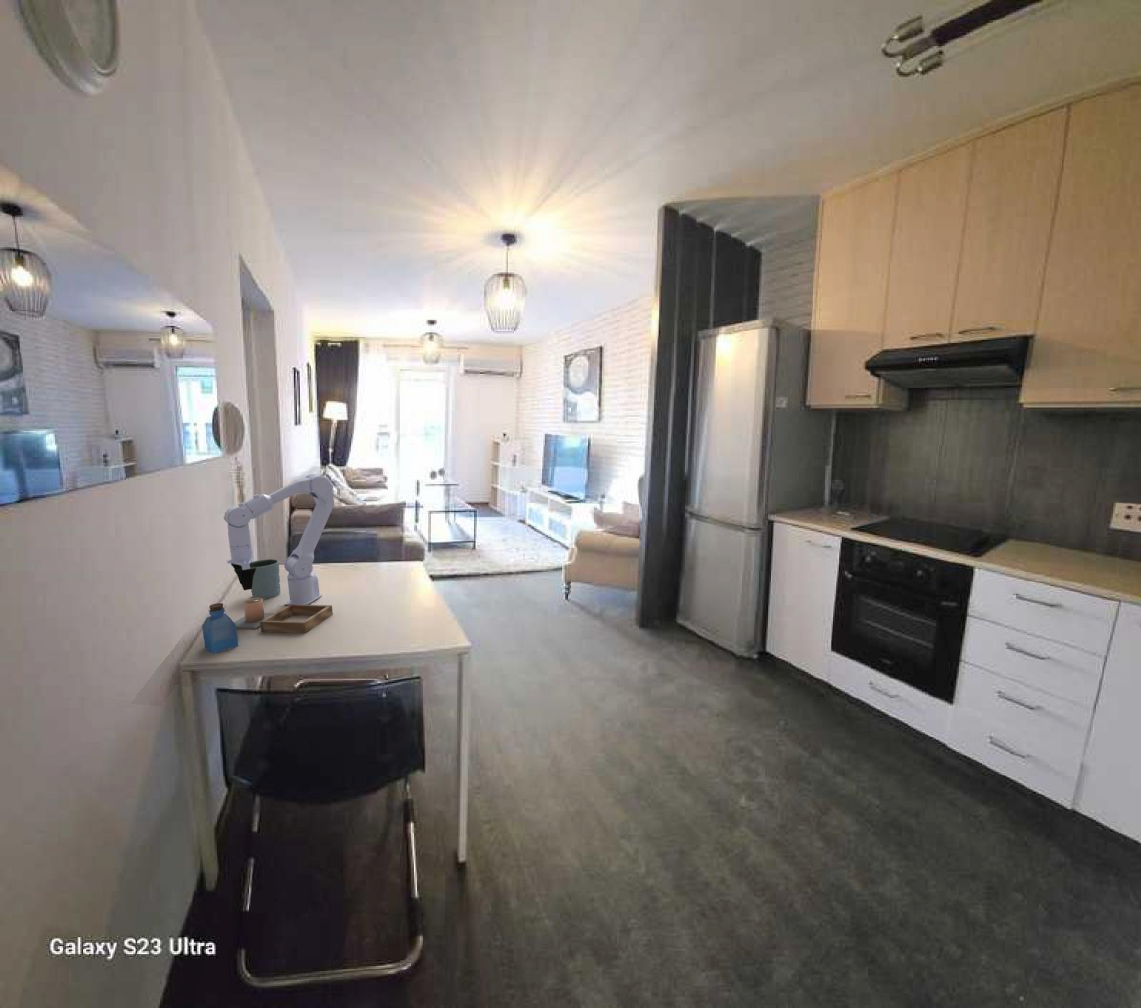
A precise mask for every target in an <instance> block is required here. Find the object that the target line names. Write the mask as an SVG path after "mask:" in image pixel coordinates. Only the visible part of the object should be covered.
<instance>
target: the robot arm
mask: <svg viewBox="0 0 1141 1008" xmlns="http://www.w3.org/2000/svg"><path fill="white" fill-rule="evenodd" d="M333 489H334V485H333V483H332V482H331V481H330V479H329V478H328V477H326V476H324V475H318V474H314V473H311V474H308V475H306V476H303V477H299V478H297V479H295V480H294V481H293V482H290V483H288V484H286V485H285V486H283V487H281V488H279V489H278V490H275V491H274V492H272V493H270V494H265V493H261V494H258V493H257V494H254V495H253V496H252V498H251V499H249V500H247V501H244V502H239V503H237V506H230V507H229V508H228V509H226V511H225V513H224V516H223V520H224V521H225V522H226V523H227V535H228V543H229V549H230V557H231V558H230V559H227V560H226V562H227V564H230V565H231V567H232V568H233V569H234V570H233V571H234V572H235V574H236V576H237V578H238V582H239V584H240V585H241V587H242V589H243V591H249V590H251V589H252V584H253V576H254V573H255V571H256V567H251V568H250V566H251V563H252V562H254V561H255V556H254V554H253V546H252V545H253V544H252V537H251V530H250V526H249V523H250V522H251V520H254V519H256V518H258V517H260V516H262V515H264V514H265V513H268V512H270V511H272V510H273V509H274V506H275V504H277V503H279V502H282V501H283V500H287V499H289V498H290V497H293V496H295V495H297V494H310V496H311V497H312V499H313V500H314V502H315V506H314V508H313V511H312V514H311V515H310V518H309V520H308V522H307V525H306V526H305V529H304V530H303V531H304V532H303V534H302V536H301V539H300V540H299V543H298V545H297V546H296V547H295V549H293V550H292V553H291V554H290V555H289V556H288V557H287V558H286V559H285V561H284V569H285V570H286V572H288V575H287V584H288V596H289V600H288V601H287V602H285V603H283V604H284V606H288V605H290V604H301V605H310V604H312V603H313V602H314V601H316V600H318V599H319V598H322V596H323V595H322V594H320V586H319V585H320V584H319V579H318V576H317V575H316V574H315V573H313V569H314V567H313V563H314V561H315V553H314V552H315V549H316V548H317V546H318V543H319V541H320V538H321V536H322V533H323V532H324V529H325V526H326V525H327V523H328V520H329V517H330V515H331V513H332V510H333V509H334V506H335V498H334V491H333Z"/></svg>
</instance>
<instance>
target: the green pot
mask: <svg viewBox="0 0 1141 1008" xmlns="http://www.w3.org/2000/svg"><path fill="white" fill-rule="evenodd" d="M251 567H256V571H255V573H254V576H253V584H252V589H250V590H251V595H252V598H262V599H263V600H267V599H271V598H272V599H273V598H274V597H278V596H279V595H280V594H281V584H280V582H281V581H280V580H281V579H280V577H281V576H280V561H279V560H278V559H276V558H266V559H265V558H264V559H259V560H253V561H252V563H251V566H250V568H251Z"/></svg>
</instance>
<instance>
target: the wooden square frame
mask: <svg viewBox="0 0 1141 1008" xmlns="http://www.w3.org/2000/svg"><path fill="white" fill-rule="evenodd" d="M273 613H274V614H273V615H271V616H269V617H267V618H266V619H264V620H262V621H260V627H259V628H260V632H264V633H265V632H267V633H268V632H272V633H299V634H300V633H301V634H302V633H303V634H306V633H307V632H309V631H310V630H313V629H314V628H315V627H316V626H318V625H320V624H321V623H322V622H324V621H325V620H326V619H328V618H329V617H331V616H332V615H333V614H334V612H333V605H332V604H331V605H329V604H308V605H301V604H290V605H286V606H285V607H284V608H282V609H280V610H278V611H277V612H273ZM292 615H297V616H298V615H301V616H302V615H304V616H310V617H309V618H307V619H306V620H303V621H296V620H295V621H294V620H293V621H292V620H287V621H286V620H285V619H288V617H290V616H292Z"/></svg>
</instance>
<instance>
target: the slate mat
mask: <svg viewBox="0 0 1141 1008" xmlns="http://www.w3.org/2000/svg"><path fill="white" fill-rule="evenodd" d="M274 613H275V612H264V619H266V618H267V617H269V616H271V615H273V614H274ZM264 619H263V620H264ZM260 621H262V620H260ZM260 621H257V622H246V621H245V615H244V616H242V617H240V618H239V619H237V620H235V621H233V622H234V623H235V624H236V629H242V630H243V629H246V630H247V629H248V630H250V629H251V630H257V629H259V628H261V627H260Z"/></svg>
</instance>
